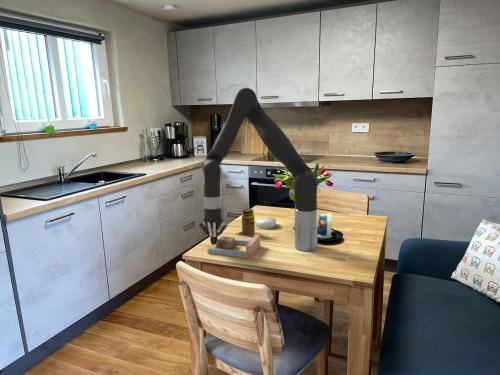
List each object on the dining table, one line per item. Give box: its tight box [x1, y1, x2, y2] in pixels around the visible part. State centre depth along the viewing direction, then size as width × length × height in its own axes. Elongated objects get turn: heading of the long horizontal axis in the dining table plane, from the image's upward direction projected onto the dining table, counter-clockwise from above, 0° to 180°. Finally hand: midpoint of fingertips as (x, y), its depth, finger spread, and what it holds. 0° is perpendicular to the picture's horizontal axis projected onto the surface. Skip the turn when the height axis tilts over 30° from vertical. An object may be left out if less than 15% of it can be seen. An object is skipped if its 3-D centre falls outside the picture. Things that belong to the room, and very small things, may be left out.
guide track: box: [207, 234, 261, 259], centre depth 160 cm, size 19×14×5 cm
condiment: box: [235, 208, 258, 239], centre depth 178 cm, size 7×8×12 cm
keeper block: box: [215, 235, 236, 250], centre depth 162 cm, size 6×7×4 cm
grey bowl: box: [255, 216, 277, 230], centre depth 190 cm, size 10×10×3 cm
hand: (214, 244), depth 163 cm, fingers closed
